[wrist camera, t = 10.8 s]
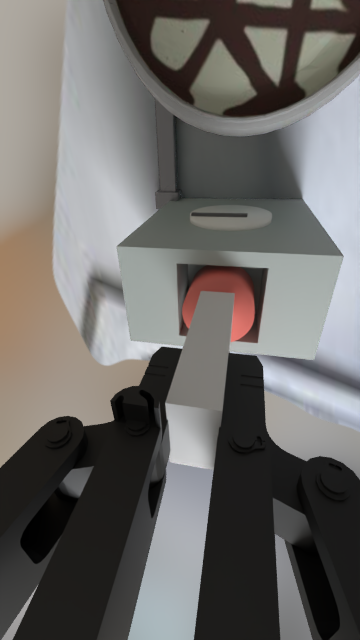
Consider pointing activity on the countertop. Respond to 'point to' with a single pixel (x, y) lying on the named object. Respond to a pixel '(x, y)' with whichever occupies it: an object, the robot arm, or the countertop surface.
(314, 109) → the food container
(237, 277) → the button
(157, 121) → the guide rail
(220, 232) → the cabinet
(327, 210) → the countertop surface
